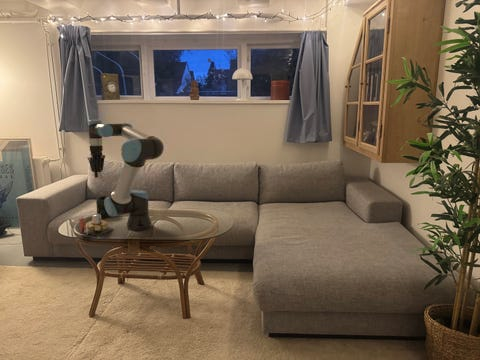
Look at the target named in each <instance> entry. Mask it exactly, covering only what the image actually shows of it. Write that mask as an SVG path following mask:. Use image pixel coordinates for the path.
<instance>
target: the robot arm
mask: <svg viewBox="0 0 480 360" xmlns="http://www.w3.org/2000/svg"><path fill="white" fill-rule="evenodd" d="M87 122H88V123H87V124H88V125H87V127H88V141H89V144H88V145H89V152H90V156H88V157H87V160H88V162H89V167H90V169H91V170H90V171H91V172H92V173H94V179H95V183H101V173H102V172H103V171H104V165H105V160H106V159H105V158H106V155H105V154H103V151H104V150H103V149H104V148H103V147H104V146H103V138H109V137H123V138H125V139H126V141H123V144H122V145H121V149H120V151H121V153H120V154H121V157H122V159H123V162H124V163H123V167H122V170H121V171H120V172H121V173H120V175H119V178H118V181H117V185H116V187H115V189H114V190H112V192H111V194H110V197H107V198H105V200H104V205H105V209H106V212H107V213H108V215H110V216H109V217H118V216H122V215H126V214H128V218H127V221H126V229H127V230H130V231H145V230H149V229H151V228H152V226H153V225H152V224H153V223H152V221H151V218H150V214H149V194H148V192H147V191H145V190H139V189H133V188H134V185H135V182H136V179H137V177H138V175H139V172H140V169H141V168H143V167H144V166H145V164H146V162H147V161H151V160H155V159H158V158H160V157H161V156H162V154H163V153H164V151H165V150H164V149H165V147H164V144H163V143H164V142H163V141H162V140H161V139H160V138H158V137H157V136H153V135H148V134H146V133H144V132H141V131H140V130H137V128H133V125H132V124H131V123H126V122H123V123H102V120H100V119H89V120H88V121H87Z"/></svg>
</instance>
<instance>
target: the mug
mask: <svg viewBox="0 0 480 360" xmlns="http://www.w3.org/2000/svg"><path fill="white" fill-rule="evenodd" d="M110 196H111V195H110ZM110 196H109V195H106V196H105V195H101V196H97V197H95V201H96V202H95V204H96V214H100V215H101V218H105V217H106V218H107V217H111V216H110V215H108V213H107V212H106V209H105V205H104V200H105V198H107V197H110Z"/></svg>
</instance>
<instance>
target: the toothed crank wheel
mask: <svg viewBox="0 0 480 360" xmlns="http://www.w3.org/2000/svg"><path fill="white" fill-rule="evenodd" d="M78 221H79V224H78V225H79V233H81V234H84V230H85V229H86V226H88V228H89V230H91V231H92V230H95V231H97V230H101V229H105V228H107V227H109V225H108V223H109V222H108V221H107V220H104V219H103V220H102V219H101V224H100V225H92V220H90V221H88V222H86V223H85V220H84V217H79V218H78Z"/></svg>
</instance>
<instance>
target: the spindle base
mask: <svg viewBox="0 0 480 360" xmlns="http://www.w3.org/2000/svg"><path fill="white" fill-rule="evenodd" d="M101 220H102V217H101V215H100V214H97V213H94V214H92V215H91V221H92V225H100V224H101ZM111 231H114V227H109V226H108V227H107V228H105V229H101V230H97V231H95V230H92V231H91V230H89V228H88V226H86V228H85V229H84V233H86V234H87V235H88V234H92V235H91V236H94V235H97V236H96V237H99V236H101V234H102V235H104V234H107V233H108V232H109V233H110V232H111ZM84 233H83V234H84ZM103 233H104V234H103ZM86 234H85V235H86ZM87 235H86V236H87ZM98 235H99V236H98ZM88 236H89V235H88Z"/></svg>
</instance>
